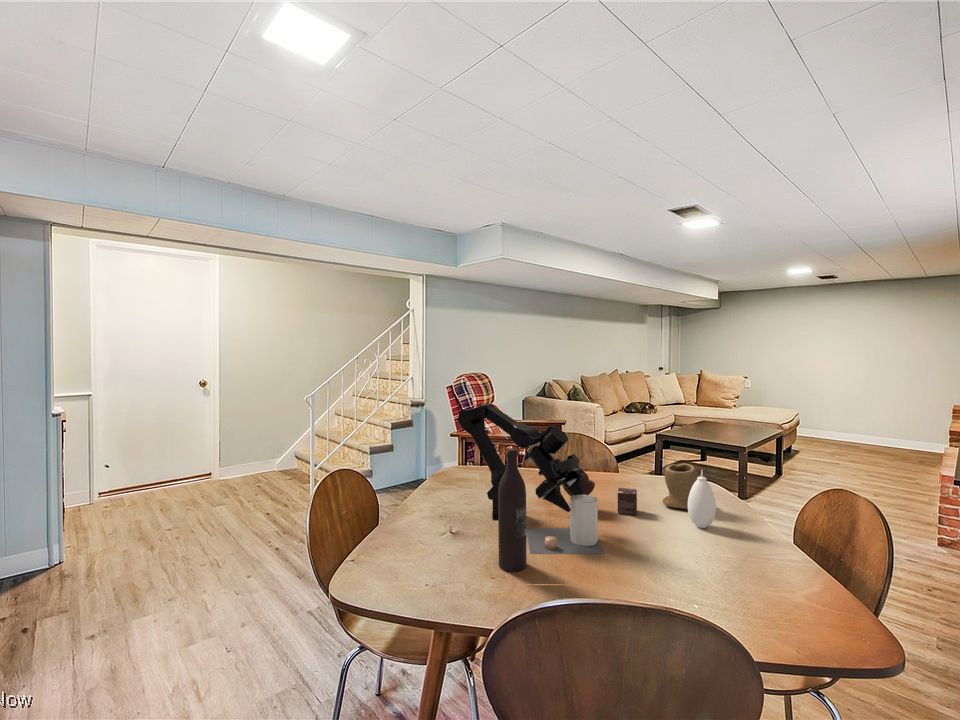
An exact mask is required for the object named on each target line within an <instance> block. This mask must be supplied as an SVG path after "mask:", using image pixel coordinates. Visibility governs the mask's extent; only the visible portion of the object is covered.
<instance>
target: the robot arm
mask: <svg viewBox="0 0 960 720" xmlns="http://www.w3.org/2000/svg"><path fill="white" fill-rule="evenodd" d="M485 419H487V420H488V421H490V422H491V423H493V424H494V425H495V426H496V427H498V428H500V429H501V430H502V431H504V432H505V433H506V434H508V435H509V437H510V439H511V441H512V442H513V443H514V444H515V445H516V446H517V447H518V448H520V449H522V450H523V449H527V448H530V450H526V451H525V455H524V461H529V460H532V462H533V463H534V464H535V466H536V467H537V469H538V470H539V471H538V472H537V474H538V475H539V476H543V477H544V478H545V479H544V480H543V481H541V483H539V485H538V486H537V487H536V488H535V495H536V496H537V497H538V499H540V500H541V499H542V500H543V501H547V502H549V503H551V504H553V505H555V506H557V507H558V508H559V509H562V510H564V511H566V512H567V513H569V512H570V511H571V509H570V504H568V502H567V500H566V499H565V497H564V496H563V494H562V493H561V487H562V485H563V484H564V485H565V486H567V487H568V488H567V489H568V490H569V491H570V492H571V493H572V494H574V495H585V493H584V490H583V487H582V479H583V475H584V472H585V471H584V470H583V469H582V468H581V469H582V470H583V471H584V472H583V471H582V470H581V469H579V468H580V465H579V463H580V460H581V459H580V458H578V457H577V456H576V455H575V453H574V454H570V455H568V456H566V457H567V458H566V460H563V461H561V459H560V458H554V456H553V455H555V454H556V453H558V452H559V451H560V450H561V449H562V448H563V447H564V446H565V445H566V443H568V441H569V438H568V435H567V434H566V432H565V431H563V430H562V429H560V428H558V427H556V426H555V425H554V424H553V425H549V426H548V427H547V429H546V430H545V431H544V432H540V431H539V430H538V429H537V428H535V427H533V426H531V425H528V424H524V423H520V422H518V421H517V420H515V419H514V418H512V417H510V416H509V415H508V414H506V413H505V412H503V411H501V410H500V409H499V408H497V407H496V406H495V405H494V404H493V403H485V404H481V405H479V406H477V407H473V408H468V409H462V410H460V411H459V413H458V417H457V421H458V424H459V425H460V427H461V428H462V429H463V430H464V431H465V432H466V433H468V435H470V436H471V437H472V439H473V440H474V442H475V444H476V447H477V448H478V450H479V452H480V454H481V456H482V458H483V460H484V462H485V463H486V465H487V467H488V470H489V472H490V473H491V476H490V483H491V485H492V487H491V488H490V489H488V491H487V492H486V494H487V498H488V500H490V501H492V511H491V512H492V513H491V515H492V517H491V518H492V519H493V520H498V490H499V484H500V481H501V478H502V476H503V474H504V472H505V470H506V467H507V465H505V464H504V462H503V460H502V459H501V456H500V455H499V453H498V451H497V449H496V447H495V446H494V444H493V442H492V440H491V438H490V437H489V435H488V432H487V431H486V428H485V426H486V424H485V423H486V421H485ZM578 467H579V468H578ZM574 468H576V469H574ZM570 470H571V471H570ZM566 474H567V475H566Z"/></svg>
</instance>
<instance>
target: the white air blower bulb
mask: <svg viewBox="0 0 960 720" xmlns="http://www.w3.org/2000/svg"><path fill="white" fill-rule="evenodd" d="M703 474H704V472H703V469H701V471H700V476H698V477H697V481H696V482H695V483H694V484H693V486H692V488H691V491H690V494H689V497H688V509H687V512H688V516H689V519H690V520H691V522H692V523H693V524H694V525H695V526H696V527H698V528H700V529H705V528H707V527H709V526H711V525H712V523H713V522H714V520H715V518H716V511H717V502H716V497H715V494H714V491H713V489H712V487H711V485H710V483H709V482H708V481H707V479H708V478H707V477H705V476H704V475H703Z"/></svg>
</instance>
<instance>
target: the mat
mask: <svg viewBox="0 0 960 720" xmlns="http://www.w3.org/2000/svg"><path fill="white" fill-rule="evenodd" d="M548 536H553V537H556V538H557V549H555V550H548V549H546V548H545V537H548ZM526 539H527V543H528V544H527V545H528V548H529V554H530V555H606V553H605V551H604V549H603V547H602V546H601V543H600V541H599V540H598V542H597V543H596V544H594V545H591V546H582V545H577V544H575V543H573V542H571V539H570V527H568V528H567V527H526Z"/></svg>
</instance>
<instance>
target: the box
mask: <svg viewBox="0 0 960 720" xmlns="http://www.w3.org/2000/svg"><path fill="white" fill-rule="evenodd" d="M637 492H638V490H637V488H628V487H627V488H625V487H618V488H617V515H624V516H625V515H626V516H637V515H638V513H637V512H638V498H637V497H638V496H637V495H638V493H637Z"/></svg>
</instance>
